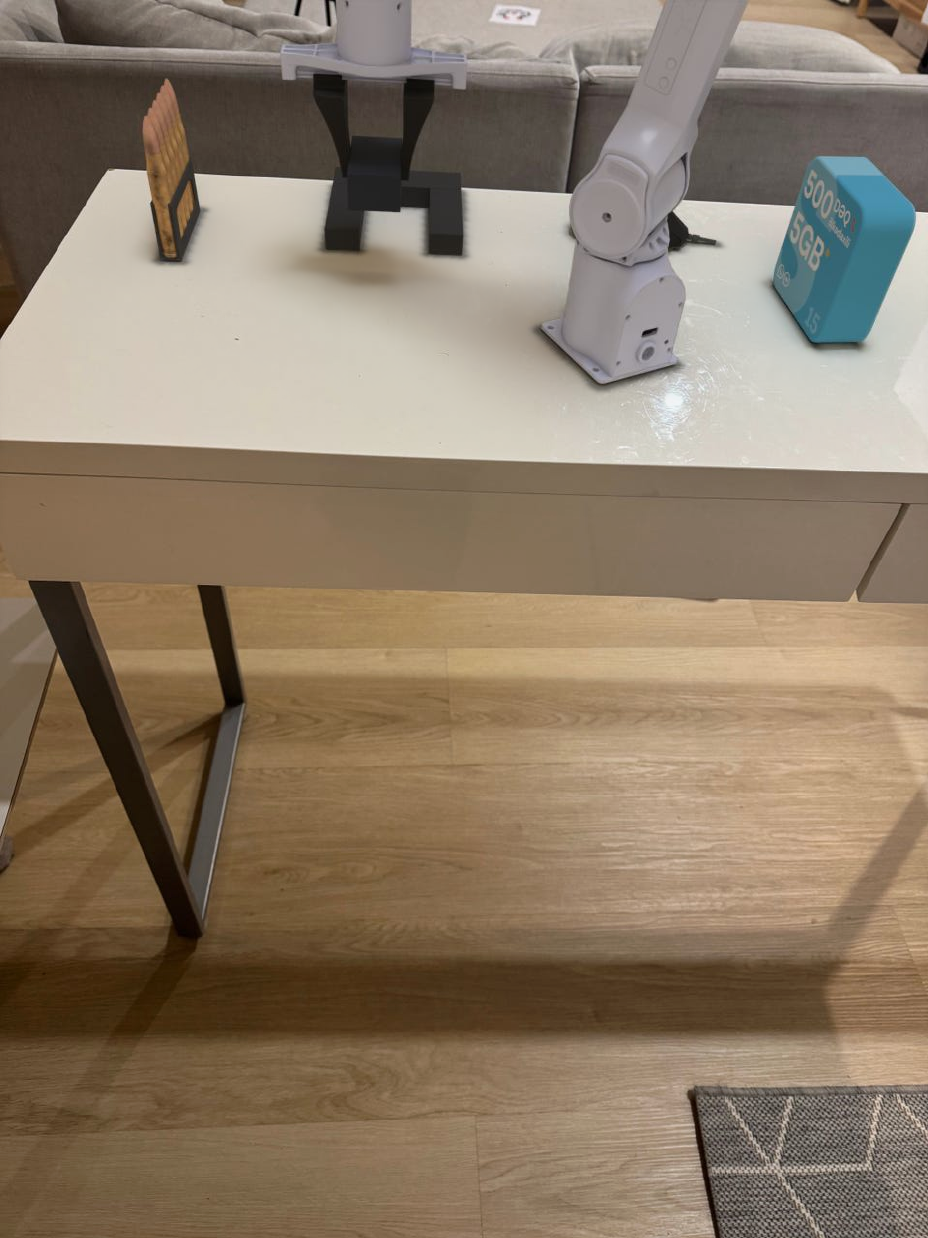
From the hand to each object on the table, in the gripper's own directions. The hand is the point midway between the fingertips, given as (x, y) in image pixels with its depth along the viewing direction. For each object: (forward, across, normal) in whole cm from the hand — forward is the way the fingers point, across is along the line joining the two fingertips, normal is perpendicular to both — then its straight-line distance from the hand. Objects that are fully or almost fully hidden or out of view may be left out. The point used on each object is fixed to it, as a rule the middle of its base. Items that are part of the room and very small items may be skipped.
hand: (376, 174), depth 78 cm
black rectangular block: (+1, 0, 0) cm, 1 cm away
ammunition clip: (+9, +19, -5) cm, 21 cm away
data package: (+9, -40, +5) cm, 41 cm away
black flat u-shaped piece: (+8, -2, -10) cm, 13 cm away
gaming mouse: (+9, -26, -9) cm, 29 cm away
